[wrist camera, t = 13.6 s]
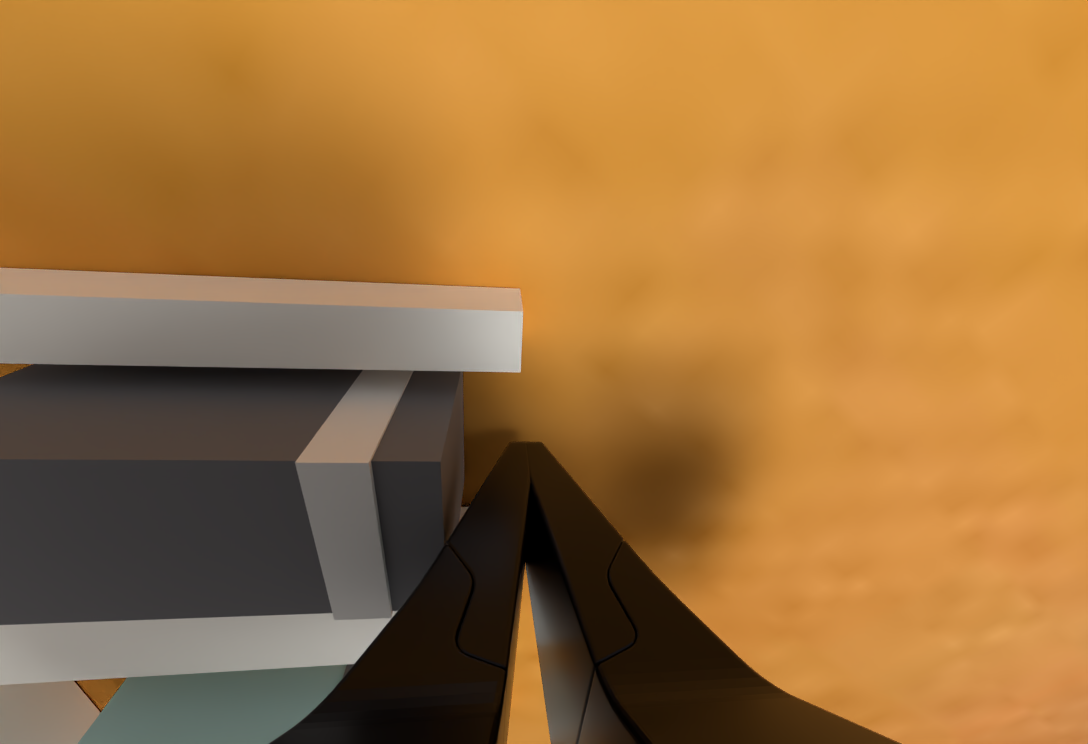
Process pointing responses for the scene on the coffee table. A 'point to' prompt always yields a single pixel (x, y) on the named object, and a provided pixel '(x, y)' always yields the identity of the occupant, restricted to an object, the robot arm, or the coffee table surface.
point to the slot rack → (218, 341)
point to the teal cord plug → (213, 706)
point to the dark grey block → (223, 490)
